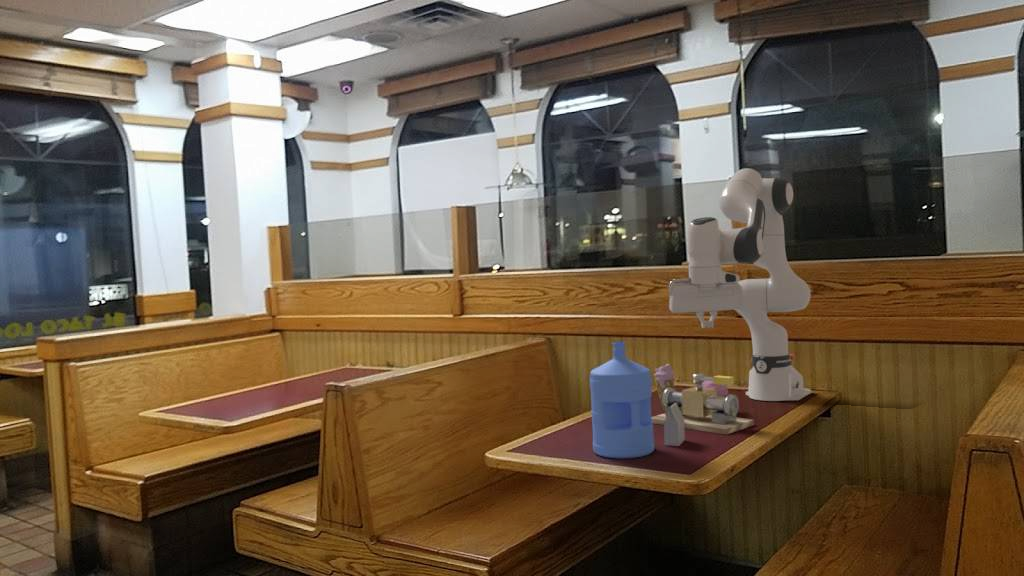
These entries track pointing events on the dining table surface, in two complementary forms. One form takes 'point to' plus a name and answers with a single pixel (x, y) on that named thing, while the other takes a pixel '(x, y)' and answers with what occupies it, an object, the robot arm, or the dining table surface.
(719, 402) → the valve assembly
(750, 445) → the dining table surface
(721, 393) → the cupcake
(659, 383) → the ice cream cone
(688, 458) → the dining table surface
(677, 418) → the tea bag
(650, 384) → the water jug
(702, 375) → the lever
